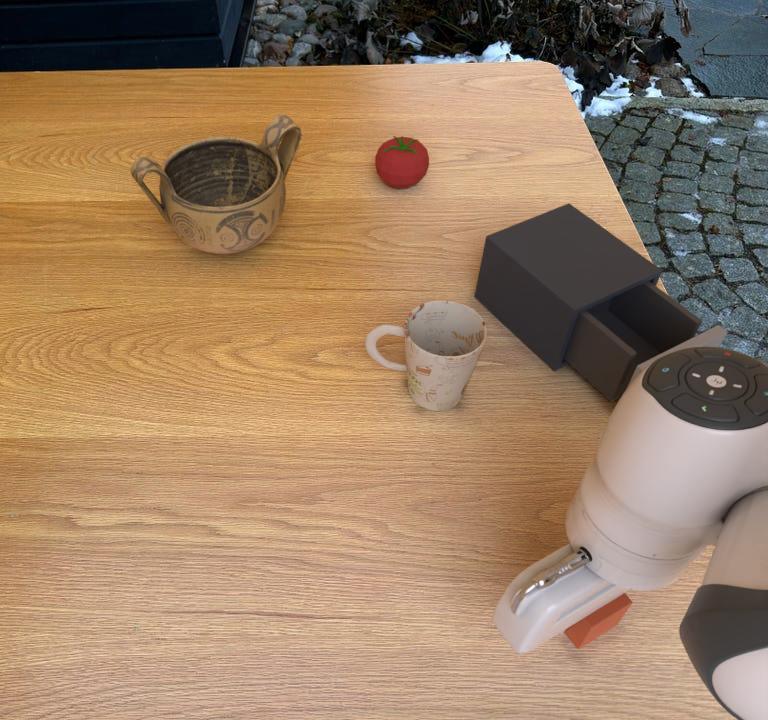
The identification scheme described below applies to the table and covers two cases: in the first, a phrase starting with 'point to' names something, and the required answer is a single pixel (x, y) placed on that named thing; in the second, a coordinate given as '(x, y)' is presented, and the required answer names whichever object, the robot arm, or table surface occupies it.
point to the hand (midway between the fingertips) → (584, 607)
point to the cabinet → (555, 276)
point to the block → (599, 621)
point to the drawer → (632, 337)
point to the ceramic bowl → (224, 187)
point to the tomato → (402, 162)
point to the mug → (436, 351)
